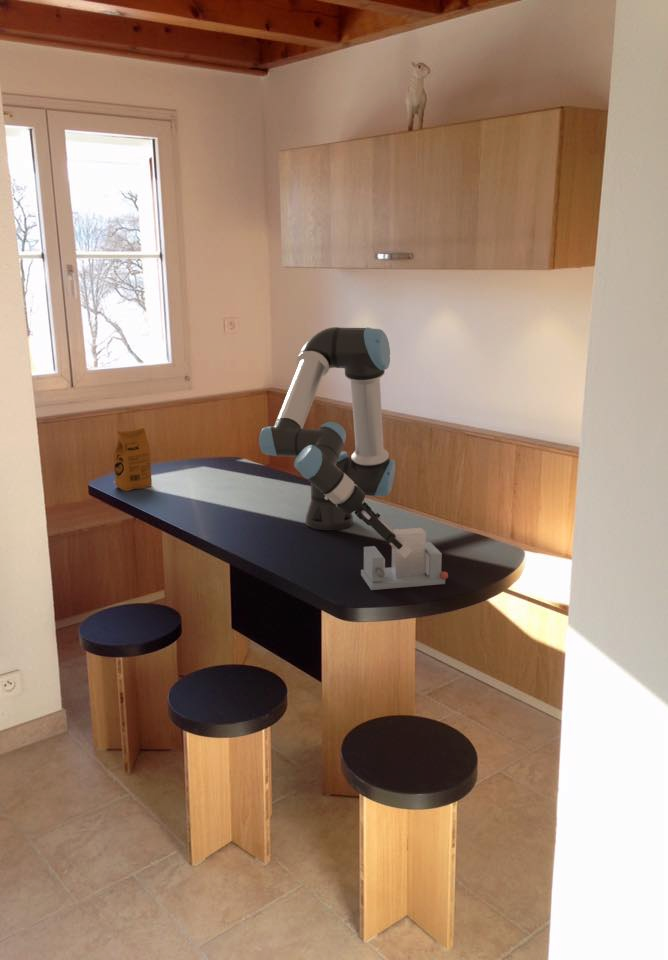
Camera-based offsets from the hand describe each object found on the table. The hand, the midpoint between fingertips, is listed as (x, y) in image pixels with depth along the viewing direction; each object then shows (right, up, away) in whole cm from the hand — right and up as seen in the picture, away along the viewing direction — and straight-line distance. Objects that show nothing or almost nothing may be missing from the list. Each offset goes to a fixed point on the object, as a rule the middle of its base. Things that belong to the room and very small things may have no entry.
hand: (400, 545), depth 225 cm
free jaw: (-6, -8, -1) cm, 11 cm away
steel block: (+2, -8, +2) cm, 9 cm away
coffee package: (-92, +14, +94) cm, 133 cm away
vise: (+1, -9, +3) cm, 10 cm away
